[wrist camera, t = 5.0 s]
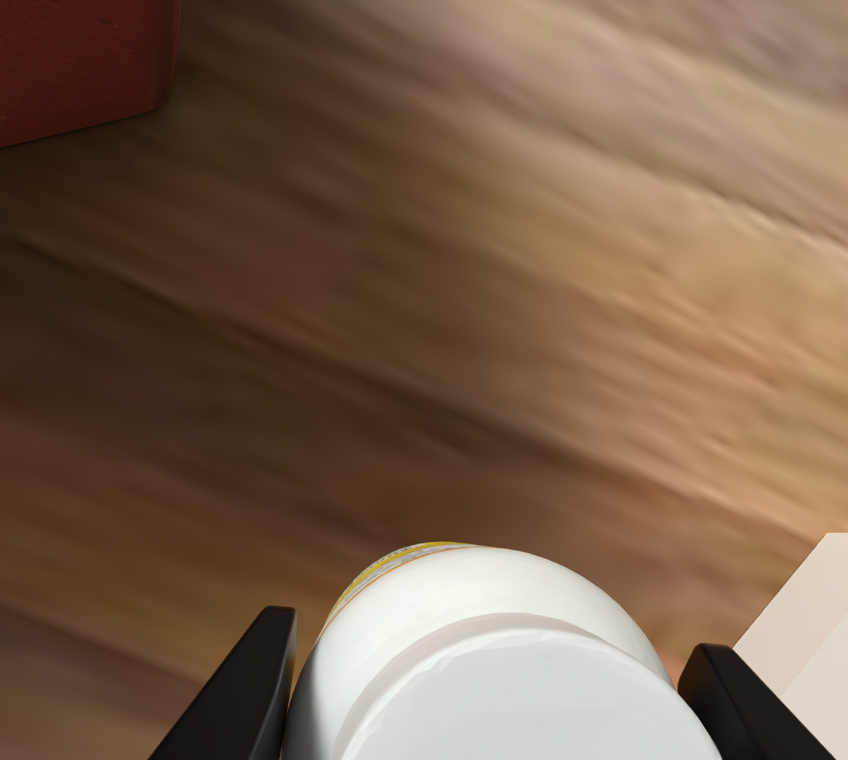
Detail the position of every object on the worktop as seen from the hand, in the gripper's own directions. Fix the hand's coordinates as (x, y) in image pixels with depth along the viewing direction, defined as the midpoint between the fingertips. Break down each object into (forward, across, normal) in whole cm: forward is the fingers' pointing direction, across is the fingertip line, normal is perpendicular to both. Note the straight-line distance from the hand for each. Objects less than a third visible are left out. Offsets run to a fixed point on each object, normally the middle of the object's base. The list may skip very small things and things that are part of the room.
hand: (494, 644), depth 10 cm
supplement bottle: (+4, 0, +6) cm, 7 cm away
